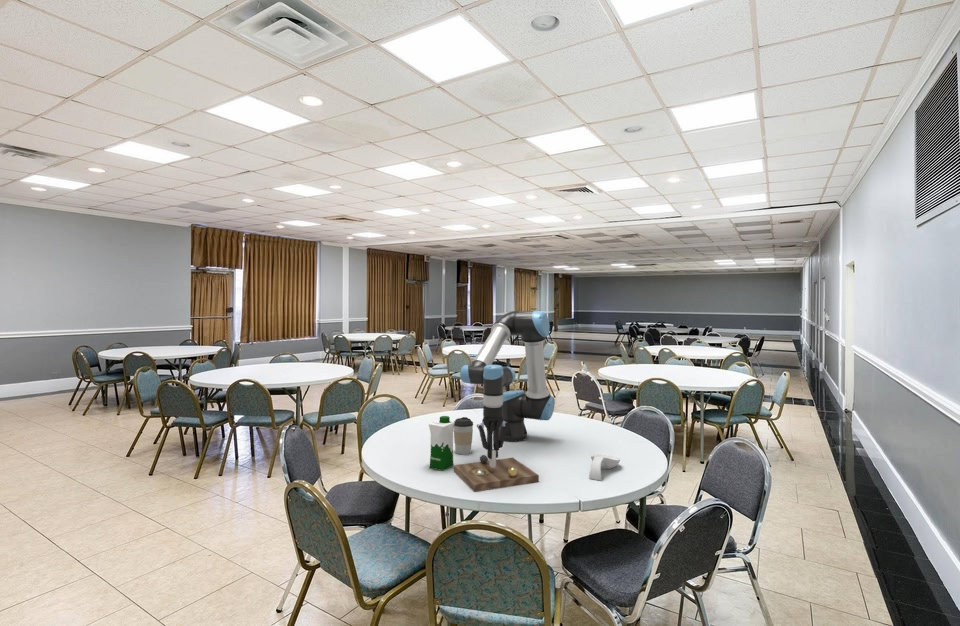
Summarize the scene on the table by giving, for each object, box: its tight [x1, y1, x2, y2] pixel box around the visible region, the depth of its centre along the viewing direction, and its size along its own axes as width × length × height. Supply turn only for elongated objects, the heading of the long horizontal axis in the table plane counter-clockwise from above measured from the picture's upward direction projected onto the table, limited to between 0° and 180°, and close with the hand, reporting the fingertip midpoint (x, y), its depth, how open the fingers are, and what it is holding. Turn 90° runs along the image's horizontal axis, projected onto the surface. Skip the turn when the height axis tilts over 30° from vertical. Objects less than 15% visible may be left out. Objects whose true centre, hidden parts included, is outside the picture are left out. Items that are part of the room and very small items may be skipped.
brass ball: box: [508, 467, 517, 477], centre depth 178 cm, size 4×4×4 cm
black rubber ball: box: [479, 454, 489, 463], centre depth 193 cm, size 3×3×3 cm
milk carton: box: [428, 415, 455, 471], centre depth 195 cm, size 9×9×20 cm
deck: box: [453, 457, 540, 492], centre depth 185 cm, size 26×22×2 cm
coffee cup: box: [453, 416, 474, 455], centre depth 215 cm, size 9×9×15 cm
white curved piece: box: [588, 453, 621, 481], centre depth 192 cm, size 24×12×7 cm, turn 154°
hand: (492, 466), depth 184 cm, fingers closed
